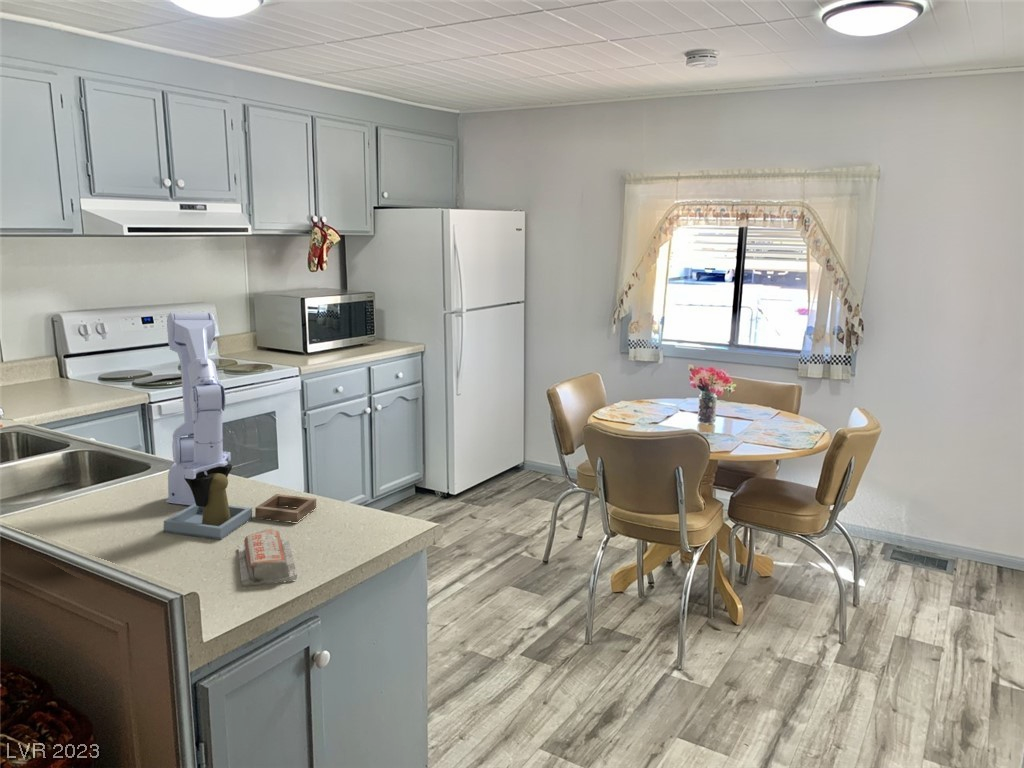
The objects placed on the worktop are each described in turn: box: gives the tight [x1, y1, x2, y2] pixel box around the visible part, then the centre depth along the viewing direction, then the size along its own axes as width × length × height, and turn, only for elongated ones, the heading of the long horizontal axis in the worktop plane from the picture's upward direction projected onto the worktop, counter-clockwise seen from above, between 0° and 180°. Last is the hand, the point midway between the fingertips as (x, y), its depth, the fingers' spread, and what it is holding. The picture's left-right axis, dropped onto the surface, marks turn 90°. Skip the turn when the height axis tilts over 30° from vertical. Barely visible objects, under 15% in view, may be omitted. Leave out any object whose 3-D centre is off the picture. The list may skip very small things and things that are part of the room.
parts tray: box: [163, 503, 253, 541], centre depth 170 cm, size 13×13×2 cm
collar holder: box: [254, 493, 317, 522], centre depth 180 cm, size 10×10×2 cm
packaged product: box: [237, 528, 298, 587], centre depth 153 cm, size 18×5×10 cm
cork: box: [202, 473, 231, 526], centre depth 169 cm, size 6×6×11 cm
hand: (209, 501), depth 170 cm, fingers open, 5 cm apart
